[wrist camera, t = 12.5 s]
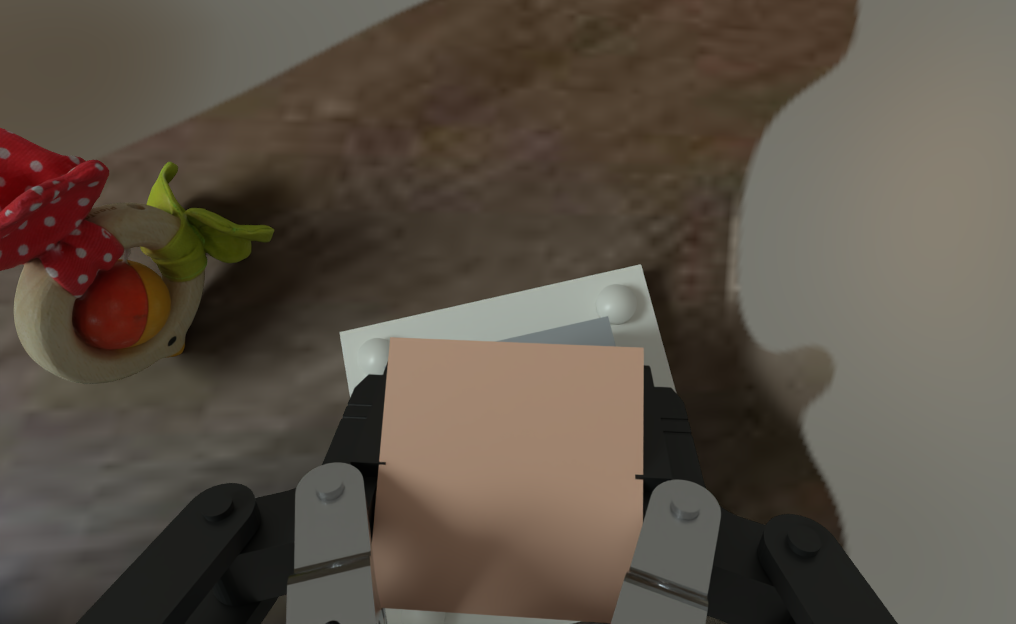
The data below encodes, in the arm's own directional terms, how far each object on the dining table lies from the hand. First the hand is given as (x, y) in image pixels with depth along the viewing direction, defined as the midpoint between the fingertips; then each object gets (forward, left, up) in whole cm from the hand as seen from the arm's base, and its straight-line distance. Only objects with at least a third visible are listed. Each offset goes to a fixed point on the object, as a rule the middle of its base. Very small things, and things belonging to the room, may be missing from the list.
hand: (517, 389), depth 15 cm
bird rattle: (-13, +8, -11) cm, 19 cm away
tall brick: (0, -2, -5) cm, 5 cm away
